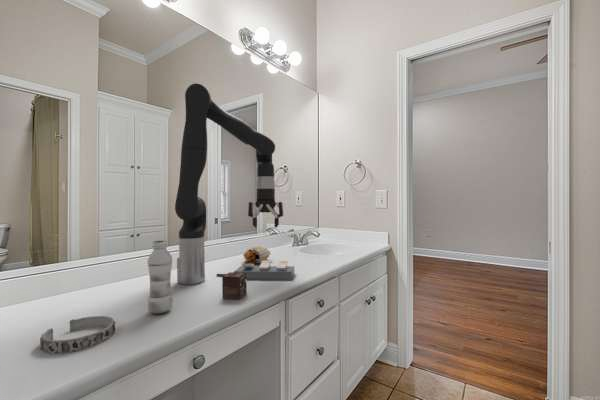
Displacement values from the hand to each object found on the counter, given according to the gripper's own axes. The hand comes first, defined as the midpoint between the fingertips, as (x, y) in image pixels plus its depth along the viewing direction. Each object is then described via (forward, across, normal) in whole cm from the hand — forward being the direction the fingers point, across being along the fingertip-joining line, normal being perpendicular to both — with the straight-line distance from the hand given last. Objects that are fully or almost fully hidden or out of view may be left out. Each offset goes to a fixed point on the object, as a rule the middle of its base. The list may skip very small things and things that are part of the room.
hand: (265, 227), depth 119 cm
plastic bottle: (+20, -21, -40) cm, 50 cm away
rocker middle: (+16, 0, -1) cm, 17 cm away
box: (+20, -4, -26) cm, 33 cm away
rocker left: (+17, -7, -2) cm, 18 cm away
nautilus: (+20, -12, +23) cm, 33 cm away
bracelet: (+21, -31, -56) cm, 68 cm away
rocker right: (+16, +7, -1) cm, 18 cm away
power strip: (+20, -4, -2) cm, 21 cm away
